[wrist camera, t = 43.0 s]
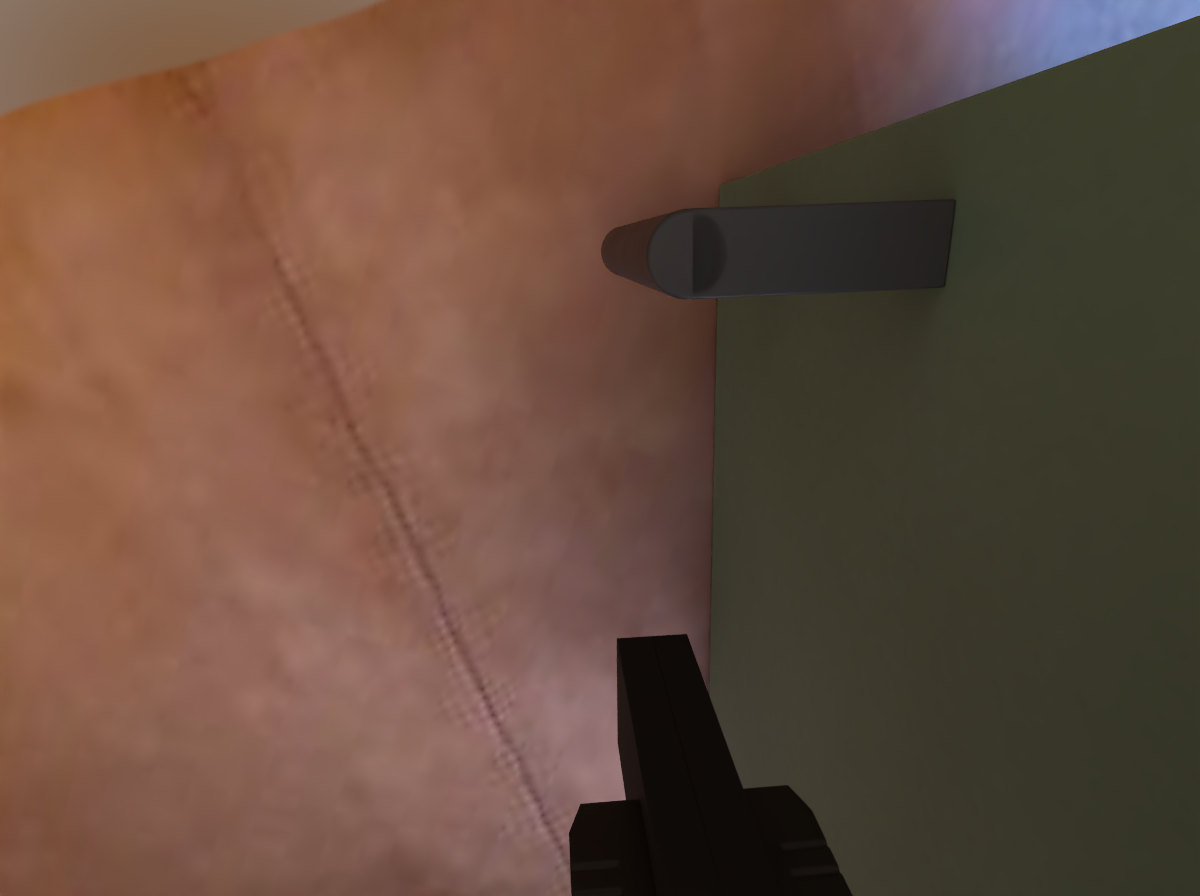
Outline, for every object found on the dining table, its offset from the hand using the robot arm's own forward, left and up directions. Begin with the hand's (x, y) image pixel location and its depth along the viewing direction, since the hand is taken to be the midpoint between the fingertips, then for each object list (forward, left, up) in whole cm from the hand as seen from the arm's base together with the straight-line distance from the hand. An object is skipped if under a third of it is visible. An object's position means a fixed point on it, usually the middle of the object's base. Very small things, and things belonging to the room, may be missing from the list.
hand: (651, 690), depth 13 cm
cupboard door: (+1, -4, -18) cm, 18 cm away
